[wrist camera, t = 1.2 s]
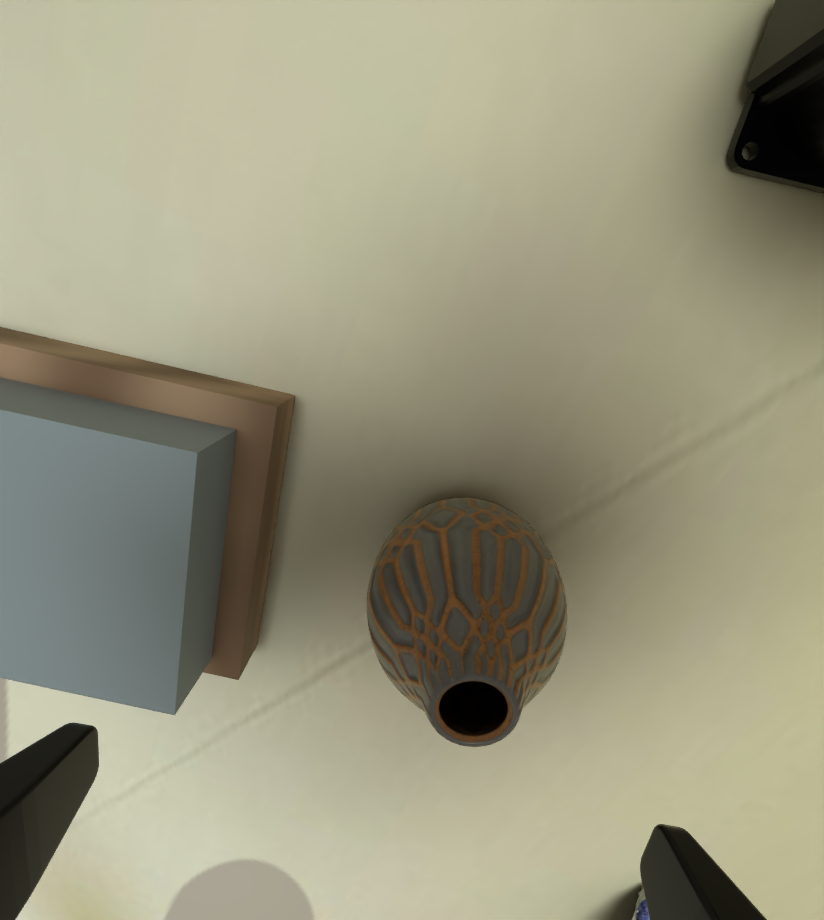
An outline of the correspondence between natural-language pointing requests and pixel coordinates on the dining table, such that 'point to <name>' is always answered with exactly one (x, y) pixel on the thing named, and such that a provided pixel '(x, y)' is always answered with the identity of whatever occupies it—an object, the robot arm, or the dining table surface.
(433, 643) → the vase
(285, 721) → the dining table surface
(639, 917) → the snack package
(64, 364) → the tower base
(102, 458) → the tower top
